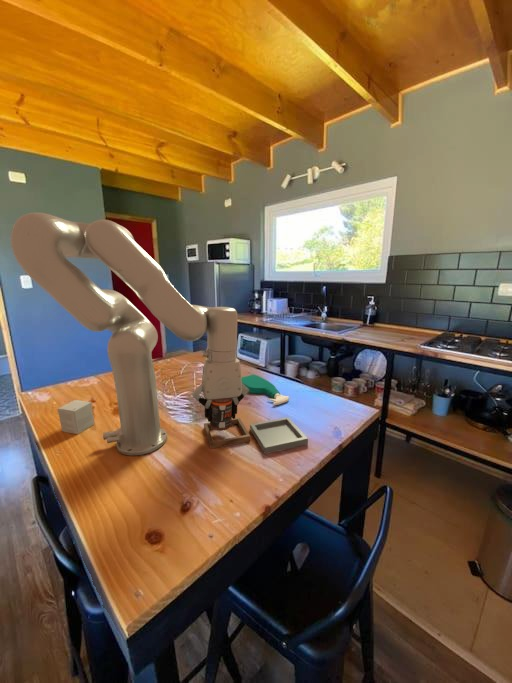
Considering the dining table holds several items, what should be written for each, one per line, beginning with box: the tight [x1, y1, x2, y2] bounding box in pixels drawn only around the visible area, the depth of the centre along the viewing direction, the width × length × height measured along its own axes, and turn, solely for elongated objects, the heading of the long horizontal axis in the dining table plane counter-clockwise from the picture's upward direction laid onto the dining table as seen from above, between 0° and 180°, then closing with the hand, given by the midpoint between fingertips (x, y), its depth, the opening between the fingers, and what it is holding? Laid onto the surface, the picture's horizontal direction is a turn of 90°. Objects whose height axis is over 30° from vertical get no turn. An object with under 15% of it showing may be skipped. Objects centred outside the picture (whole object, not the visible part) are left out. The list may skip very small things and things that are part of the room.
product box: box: [57, 399, 95, 435], centre depth 84 cm, size 6×6×7 cm
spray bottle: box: [241, 374, 290, 407], centre depth 109 cm, size 3×11×24 cm
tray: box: [249, 416, 309, 455], centre depth 79 cm, size 12×12×2 cm
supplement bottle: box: [209, 398, 233, 432], centre depth 79 cm, size 6×6×11 cm
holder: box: [203, 417, 251, 450], centre depth 81 cm, size 11×11×2 cm
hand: (220, 417), depth 79 cm, fingers closed on supplement bottle, 6 cm apart
